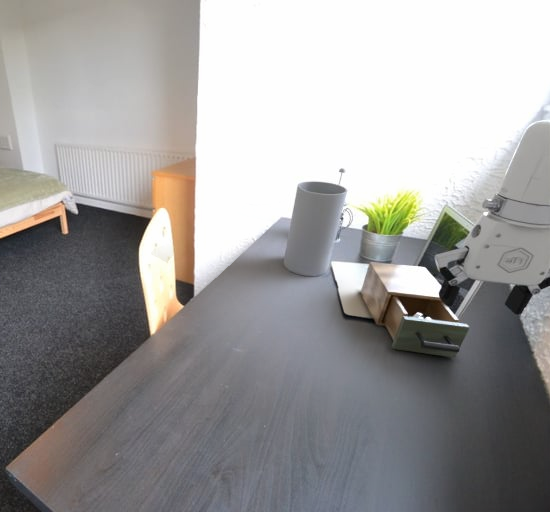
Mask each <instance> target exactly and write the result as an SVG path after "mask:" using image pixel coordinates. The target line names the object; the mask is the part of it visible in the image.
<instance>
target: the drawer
mask: <svg viewBox="0 0 550 512" xmlns="http://www.w3.org/2000/svg"><path fill="white" fill-rule="evenodd" d="M418 312H422V313H424V314H425V315H426V318H427V317H432V318H433V319H434V320H431V319H423V318H415V317H413V316H414V315H415V314H416V313H418ZM382 320H383V322H384V324H385V325H386V326H385V327H386V329H387V331H388V333H389V335H390V337H391V338H392V343H391V347H392V348H393V350H399V351H404V352H405V351H407V352H413V353H421V354H428V355H434V356H441V357H447V358H448V357H449V358H456V357H457V355H458V353H459V352H460V349H461V346H462V345H463V342H464V340H465V338H466V336H467V334H468V332H469V330H470V325H468V323H464V322H463V323H462V322H459V321H460V319H459V318H458V317H457V316H456V314H454V312H453V311H452V310H451V309H450V307H449V308H448V306H446V305H445V304H444V302H443V301H440V300H431V299H423V298H414V297H405V296H396V295H391V297H390V299H389V302H388V305H387V308H386V311H385V314H384V316H383V319H382Z"/></svg>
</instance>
